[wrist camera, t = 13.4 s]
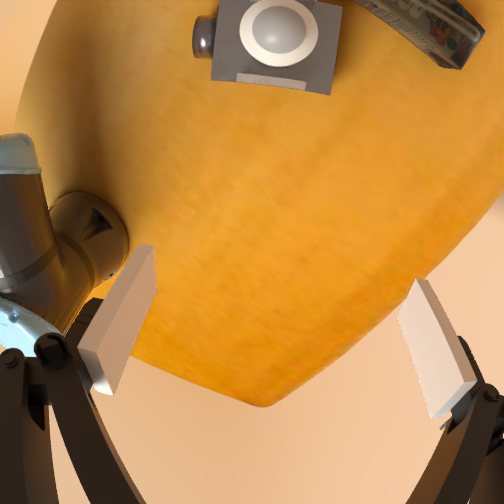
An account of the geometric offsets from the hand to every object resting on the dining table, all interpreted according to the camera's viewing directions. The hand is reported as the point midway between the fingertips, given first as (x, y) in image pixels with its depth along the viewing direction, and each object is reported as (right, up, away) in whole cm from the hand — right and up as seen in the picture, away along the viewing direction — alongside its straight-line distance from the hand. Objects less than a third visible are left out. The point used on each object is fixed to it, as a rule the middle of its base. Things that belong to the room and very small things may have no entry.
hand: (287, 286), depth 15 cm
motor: (0, +25, +16) cm, 30 cm away
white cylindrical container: (+1, +22, +11) cm, 25 cm away
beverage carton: (+16, +32, +11) cm, 37 cm away
